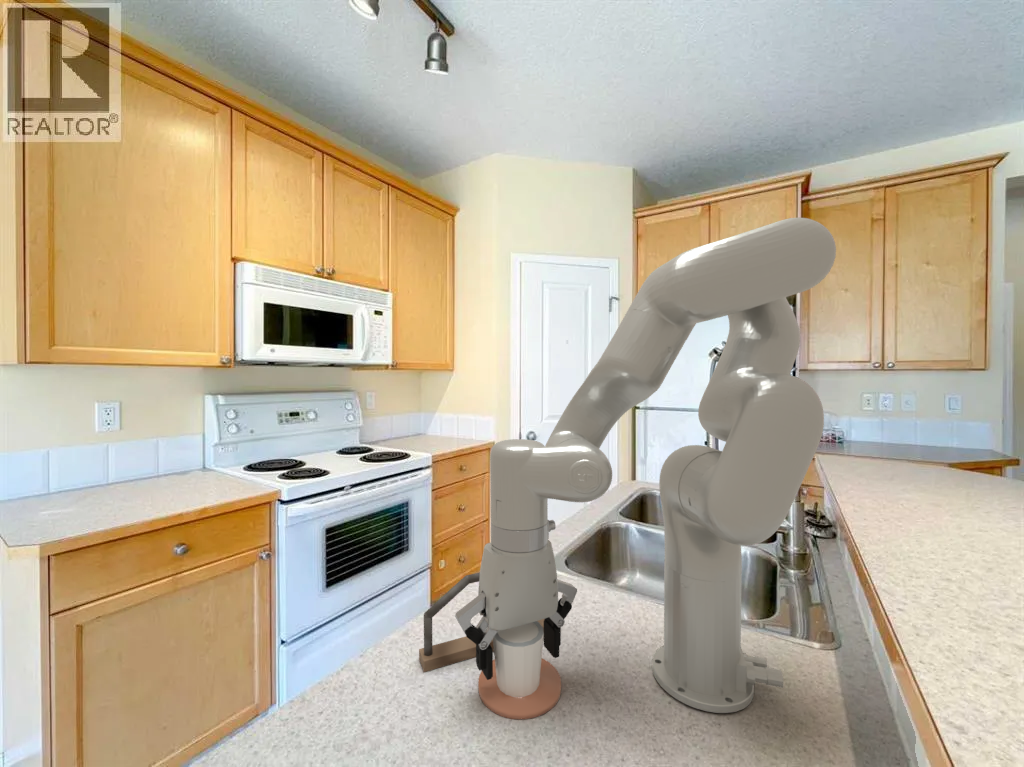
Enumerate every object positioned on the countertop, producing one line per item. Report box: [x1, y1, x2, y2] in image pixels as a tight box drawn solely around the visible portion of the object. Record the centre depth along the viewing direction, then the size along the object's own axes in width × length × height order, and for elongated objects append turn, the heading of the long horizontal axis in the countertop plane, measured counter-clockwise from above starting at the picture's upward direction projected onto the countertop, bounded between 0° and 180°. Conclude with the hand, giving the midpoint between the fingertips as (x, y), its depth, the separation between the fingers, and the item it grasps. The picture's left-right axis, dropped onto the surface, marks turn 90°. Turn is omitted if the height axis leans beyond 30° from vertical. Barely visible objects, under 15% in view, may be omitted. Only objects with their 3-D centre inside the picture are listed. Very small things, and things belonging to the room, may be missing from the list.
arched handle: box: [418, 572, 544, 673], centre depth 66 cm, size 22×3×12 cm, turn 115°
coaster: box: [477, 657, 562, 720], centre depth 58 cm, size 11×11×1 cm
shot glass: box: [493, 621, 544, 697], centre depth 57 cm, size 7×7×7 cm
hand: (519, 661), depth 57 cm, fingers open, 9 cm apart
